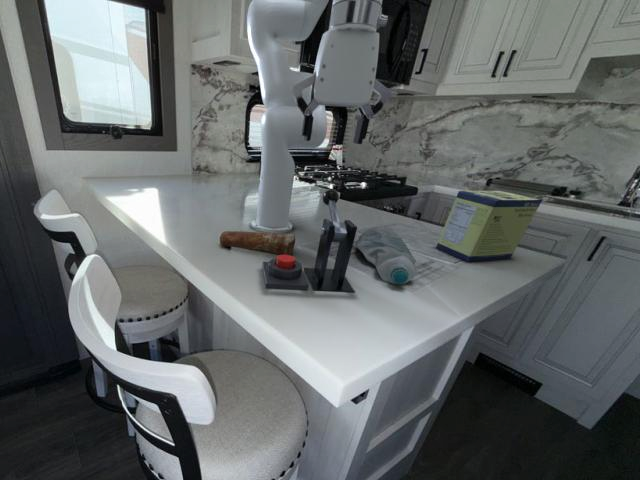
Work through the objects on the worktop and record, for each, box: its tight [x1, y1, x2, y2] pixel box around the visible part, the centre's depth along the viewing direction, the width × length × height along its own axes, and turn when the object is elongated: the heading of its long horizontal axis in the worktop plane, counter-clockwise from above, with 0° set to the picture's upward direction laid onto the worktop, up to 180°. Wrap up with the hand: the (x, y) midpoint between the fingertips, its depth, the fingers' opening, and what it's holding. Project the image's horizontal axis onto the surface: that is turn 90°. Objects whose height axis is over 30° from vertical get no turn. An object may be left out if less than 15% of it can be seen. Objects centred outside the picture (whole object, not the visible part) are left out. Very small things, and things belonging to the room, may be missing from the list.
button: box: [276, 254, 296, 269], centre depth 60 cm, size 4×4×2 cm
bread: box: [219, 230, 296, 256], centre depth 75 cm, size 6×19×6 cm, turn 70°
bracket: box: [303, 218, 358, 294], centre depth 59 cm, size 10×8×13 cm
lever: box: [321, 188, 347, 243], centre depth 60 cm, size 13×3×3 cm, turn 0°
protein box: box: [435, 190, 543, 263], centre depth 80 cm, size 10×16×16 cm
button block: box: [261, 257, 310, 291], centre depth 61 cm, size 10×8×4 cm
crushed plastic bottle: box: [355, 226, 417, 285], centre depth 69 cm, size 13×7×25 cm
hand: (332, 142), depth 58 cm, fingers open, 9 cm apart
